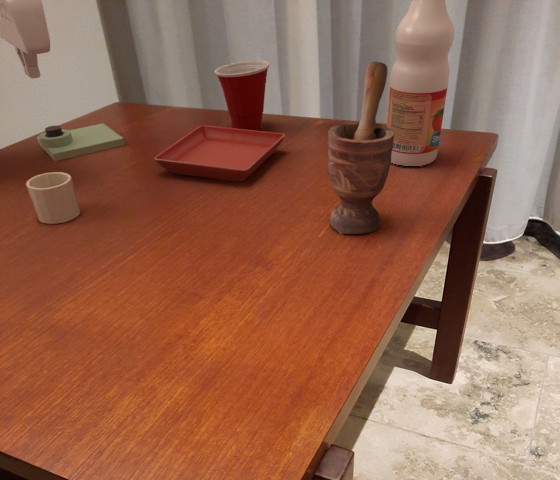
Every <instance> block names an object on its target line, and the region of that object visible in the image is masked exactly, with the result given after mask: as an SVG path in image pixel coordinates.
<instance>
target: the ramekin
mask: <svg viewBox="0 0 560 480" xmlns="http://www.w3.org/2000/svg"><path fill="white" fill-rule="evenodd" d="M25 187H26V189H27V192H28V195H29V198H30V200H31V204H32V207H33V210H34V213H35V215H36V217H37V219H38V221H39V222H40V223H42V224H48V225H55V224H62V223H67V222H70V221H72V220H74V219H76V218H77V217H79V215H81V206H80V203H79V199H78V195H77V192H76V187H75V185H74V182H73V178H72V176H71V174H69V173H66V172H62V171H53V172H44V173H40V174H37V175H34V176H32V177H31V178H30V179H28V180H27V181H26V183H25Z"/></svg>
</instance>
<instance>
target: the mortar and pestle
mask: <svg viewBox="0 0 560 480" xmlns="http://www.w3.org/2000/svg"><path fill="white" fill-rule="evenodd" d="M387 78H388V66H387V65H386V63H384V62H381V61H372V62H370V63H368V67H367V69H366V71H365V76H364V82H363V91H362V102H361V103H362V104H361V111H360V119H359V121H349V122H345V123H337V124H336V125H333V126H331V127H330V128H329V129H328V131H327V167H328V171H327V172H328V177H329V181H330V185H331V188H332V191H333V192H334V193H335V194H336V196H337V197H338V198H339V199H340V203H339V205H336V206H335V207H334V208H333V210H332V211H331V213H330V216H329V220H328V221H329V225H330V226H331V227H332V228H333V230H335V231H336V232H338V233H339V234H340V235H357V234H358V235H361V234H368V233H373V232H375V231H376V230H377V229H379V227H380V225H381V222H382V221H381V218H380V215H379V211H378V210H377V209H376V207H375V206H374V205H373V201H374V199H375V198H376V197H377V196H379V194H380V193H381V192H382V190H383V189H384V187H385V184H386V181H387V179H388V176H389V172H390V168H391V164H392V163H391V154H392V148H393V140H394V134H393V133H394V132H393V130H391V129H390V128H389V127H386V125H383V124H380V123H376V121H377V120H376V117H377V115H378V109H379V106H380V101H381V99H382V97H383V94H384V91H385V87H386V83H387Z"/></svg>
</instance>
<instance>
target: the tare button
mask: <svg viewBox="0 0 560 480" xmlns="http://www.w3.org/2000/svg"><path fill="white" fill-rule="evenodd" d="M62 129H63V128H62V126H61V125H50V126H49V125H48V126H47V127H45V128H44V132H46V135H47V137H58V136H61V135H63V133H62Z"/></svg>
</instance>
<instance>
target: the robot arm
mask: <svg viewBox="0 0 560 480" xmlns="http://www.w3.org/2000/svg"><path fill="white" fill-rule="evenodd" d="M0 39H2V40H4V41H5V42H7V43H8V44H10V45H12V46H13V47H14V51H15V53H16V55H17V57H18V60H19V61H20V63H21V65H22V68H23V72H24V74H25V75H26V76H28V77H29V78H30V79H32V80H33V79H38V78H40V77H41V71H40V68H39V64H38V55H40V54H46V53H49V52H50V51H51V39H50V34H49V27H48V23H47V18H46V15H45V10H44V6H43V2H42V0H0Z"/></svg>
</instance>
